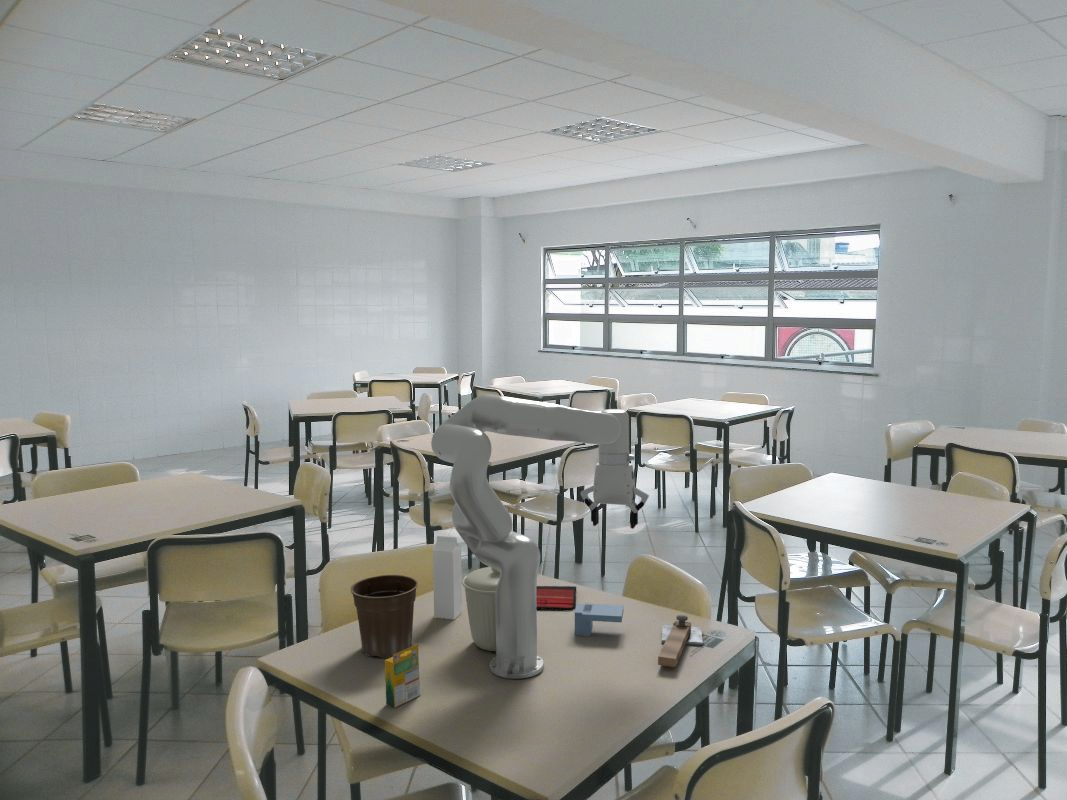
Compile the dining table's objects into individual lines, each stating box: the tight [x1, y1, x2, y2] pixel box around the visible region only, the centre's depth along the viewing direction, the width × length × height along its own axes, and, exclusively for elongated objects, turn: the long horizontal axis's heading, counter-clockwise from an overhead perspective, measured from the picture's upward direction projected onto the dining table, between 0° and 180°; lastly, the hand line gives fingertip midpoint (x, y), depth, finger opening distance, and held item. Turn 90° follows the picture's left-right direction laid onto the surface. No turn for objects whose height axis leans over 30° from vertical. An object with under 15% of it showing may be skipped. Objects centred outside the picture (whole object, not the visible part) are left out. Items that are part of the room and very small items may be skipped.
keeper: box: [574, 602, 624, 637], centre depth 205 cm, size 8×12×6 cm, turn 80°
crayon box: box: [384, 643, 421, 709], centre depth 169 cm, size 7×3×12 cm, turn 141°
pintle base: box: [661, 624, 704, 646], centre depth 201 cm, size 10×10×1 cm
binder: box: [536, 585, 577, 611], centre depth 229 cm, size 16×2×21 cm
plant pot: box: [350, 574, 419, 659], centre depth 195 cm, size 16×16×16 cm
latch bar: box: [657, 614, 692, 668], centre depth 192 cm, size 23×4×4 cm, turn 160°
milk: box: [432, 535, 463, 621], centre depth 217 cm, size 6×6×22 cm
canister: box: [462, 566, 500, 652], centre depth 197 cm, size 18×18×21 cm
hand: (614, 525), depth 200 cm, fingers open, 9 cm apart
